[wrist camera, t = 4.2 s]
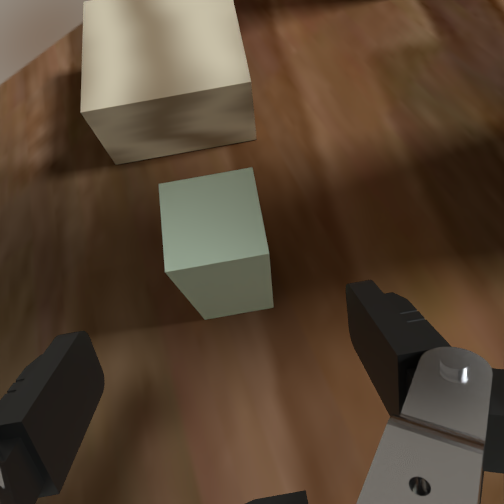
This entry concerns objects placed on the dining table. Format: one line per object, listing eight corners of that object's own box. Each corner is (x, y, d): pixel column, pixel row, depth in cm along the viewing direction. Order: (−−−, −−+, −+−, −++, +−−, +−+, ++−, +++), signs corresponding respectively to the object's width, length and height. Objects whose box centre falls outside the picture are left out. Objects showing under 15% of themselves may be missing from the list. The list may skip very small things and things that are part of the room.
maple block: (236, 41, 30) (227, -25, 26) (256, 139, 26) (250, 81, 22) (113, 64, 30) (83, 1, 26) (115, 164, 26) (80, 112, 22)
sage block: (261, 245, 23) (252, 167, 16) (273, 307, 22) (269, 253, 14) (197, 256, 23) (158, 184, 16) (204, 319, 22) (165, 272, 14)
